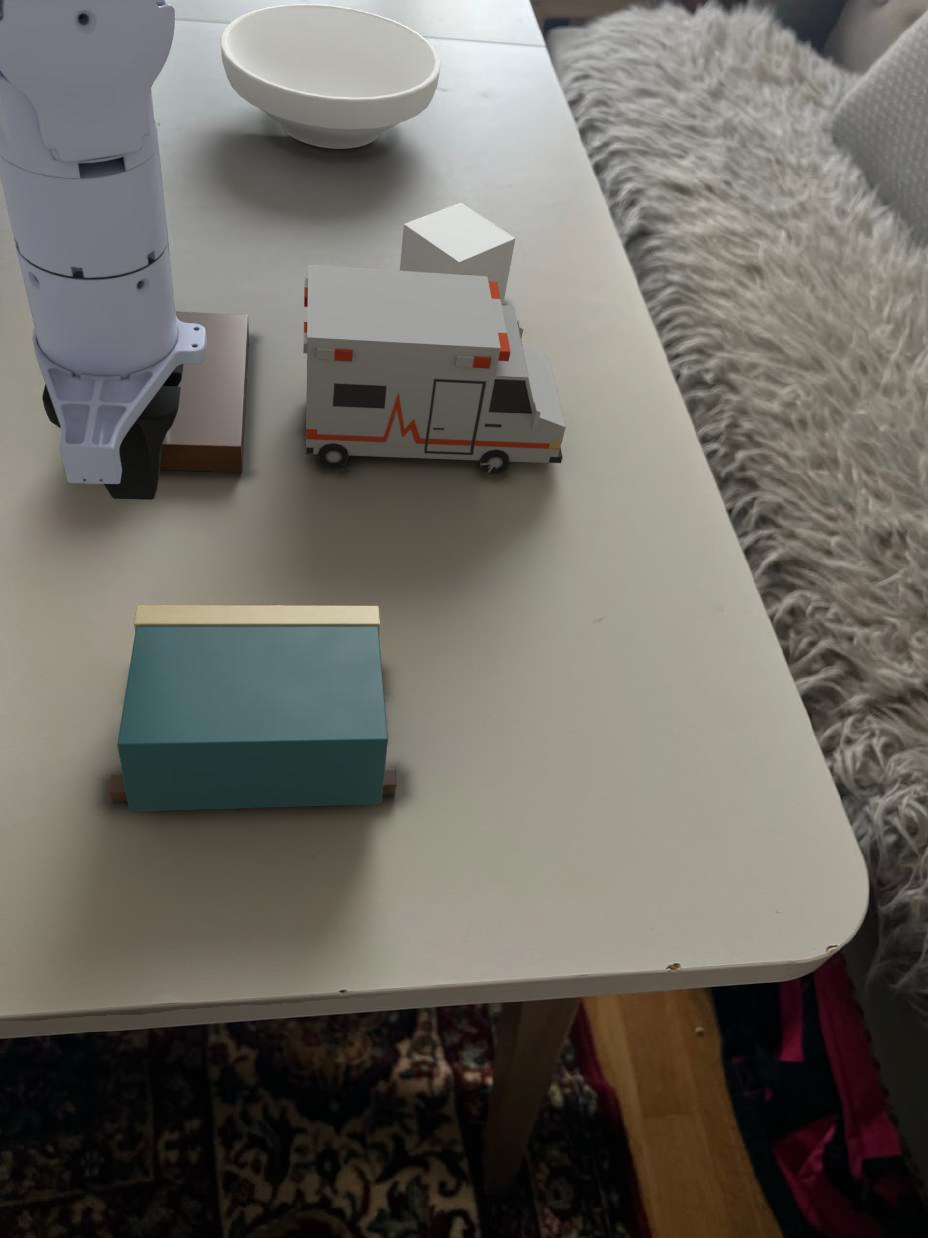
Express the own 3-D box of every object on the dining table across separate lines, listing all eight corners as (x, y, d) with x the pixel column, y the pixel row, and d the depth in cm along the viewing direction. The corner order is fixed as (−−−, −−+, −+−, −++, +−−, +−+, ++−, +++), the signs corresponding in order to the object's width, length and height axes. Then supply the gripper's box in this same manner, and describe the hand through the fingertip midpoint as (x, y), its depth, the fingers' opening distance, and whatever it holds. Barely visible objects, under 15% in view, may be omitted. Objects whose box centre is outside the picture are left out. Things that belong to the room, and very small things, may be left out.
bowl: (467, 169, 94) (477, 90, 89) (265, 192, 87) (263, 108, 81) (384, 74, 104) (389, -2, 99) (197, 88, 97) (191, 7, 91)
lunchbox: (114, 743, 44) (136, 604, 51) (127, 813, 48) (146, 675, 54) (390, 738, 46) (378, 605, 53) (383, 805, 50) (373, 673, 56)
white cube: (502, 306, 81) (515, 238, 76) (449, 332, 78) (459, 262, 73) (451, 270, 83) (460, 201, 78) (397, 293, 80) (403, 223, 75)
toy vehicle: (560, 484, 68) (594, 363, 61) (302, 475, 66) (303, 347, 58) (541, 394, 74) (569, 273, 67) (303, 382, 72) (304, 255, 64)
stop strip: (111, 802, 49) (108, 792, 49) (113, 784, 50) (110, 774, 49) (395, 794, 52) (397, 785, 51) (394, 777, 52) (395, 768, 52)
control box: (71, 479, 63) (60, 429, 60) (101, 333, 72) (92, 283, 69) (241, 483, 64) (239, 435, 61) (249, 340, 74) (247, 292, 71)
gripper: (185, 357, 36) (209, 602, 46) (208, 154, 45) (223, 398, 55) (-28, 347, 35) (46, 601, 45) (39, 141, 44) (88, 393, 54)
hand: (134, 489), depth 50 cm, fingers closed
